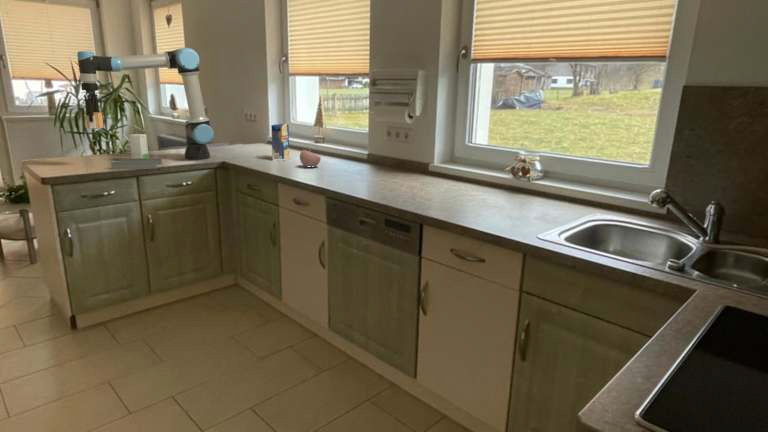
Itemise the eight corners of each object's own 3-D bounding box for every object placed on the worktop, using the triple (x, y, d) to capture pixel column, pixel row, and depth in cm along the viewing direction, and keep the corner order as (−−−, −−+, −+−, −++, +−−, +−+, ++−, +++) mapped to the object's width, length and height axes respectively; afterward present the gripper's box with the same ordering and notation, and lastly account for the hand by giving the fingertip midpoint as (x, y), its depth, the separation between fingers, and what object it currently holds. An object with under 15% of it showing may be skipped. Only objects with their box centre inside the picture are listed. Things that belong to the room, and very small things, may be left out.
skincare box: (142, 162, 278) (139, 135, 274) (131, 161, 278) (128, 134, 274) (149, 160, 286) (147, 133, 282) (138, 159, 286) (135, 133, 282)
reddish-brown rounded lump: (324, 168, 280) (324, 148, 277) (307, 169, 273) (306, 149, 270) (313, 165, 289) (313, 146, 286) (296, 166, 281) (295, 147, 278)
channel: (162, 164, 274) (161, 158, 274) (156, 168, 260) (155, 162, 259) (119, 164, 269) (119, 158, 269) (111, 168, 255) (110, 162, 254)
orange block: (103, 127, 259) (101, 112, 257) (100, 128, 253) (98, 113, 251) (91, 127, 257) (89, 112, 255) (87, 128, 252) (85, 113, 250)
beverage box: (289, 159, 309) (288, 124, 303) (282, 161, 299) (281, 125, 293) (279, 158, 310) (278, 123, 304) (272, 160, 300) (271, 125, 294)
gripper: (87, 82, 257) (93, 126, 263) (74, 82, 239) (80, 129, 245) (103, 82, 259) (108, 126, 265) (91, 82, 241) (96, 129, 247)
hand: (94, 127), depth 255 cm, fingers closed on orange block, 6 cm apart
